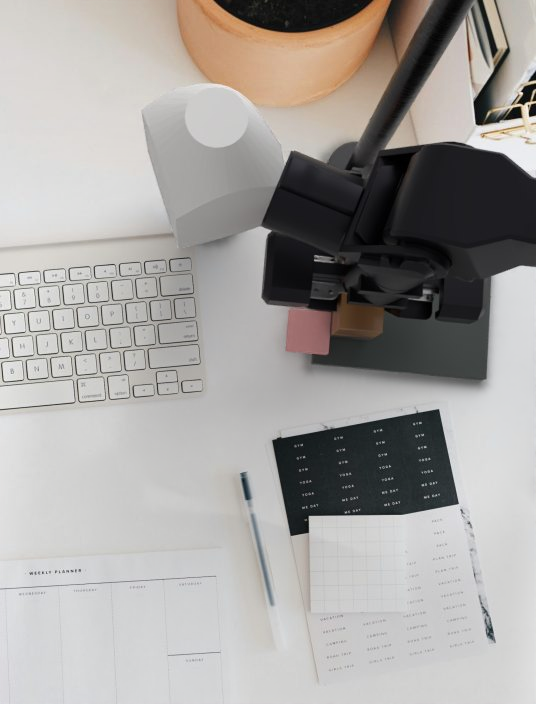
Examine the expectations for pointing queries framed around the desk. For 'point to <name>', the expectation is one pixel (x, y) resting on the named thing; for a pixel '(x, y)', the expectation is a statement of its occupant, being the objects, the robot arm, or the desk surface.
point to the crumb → (308, 331)
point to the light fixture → (211, 161)
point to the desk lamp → (405, 82)
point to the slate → (417, 347)
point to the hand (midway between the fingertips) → (353, 297)
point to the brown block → (355, 320)
